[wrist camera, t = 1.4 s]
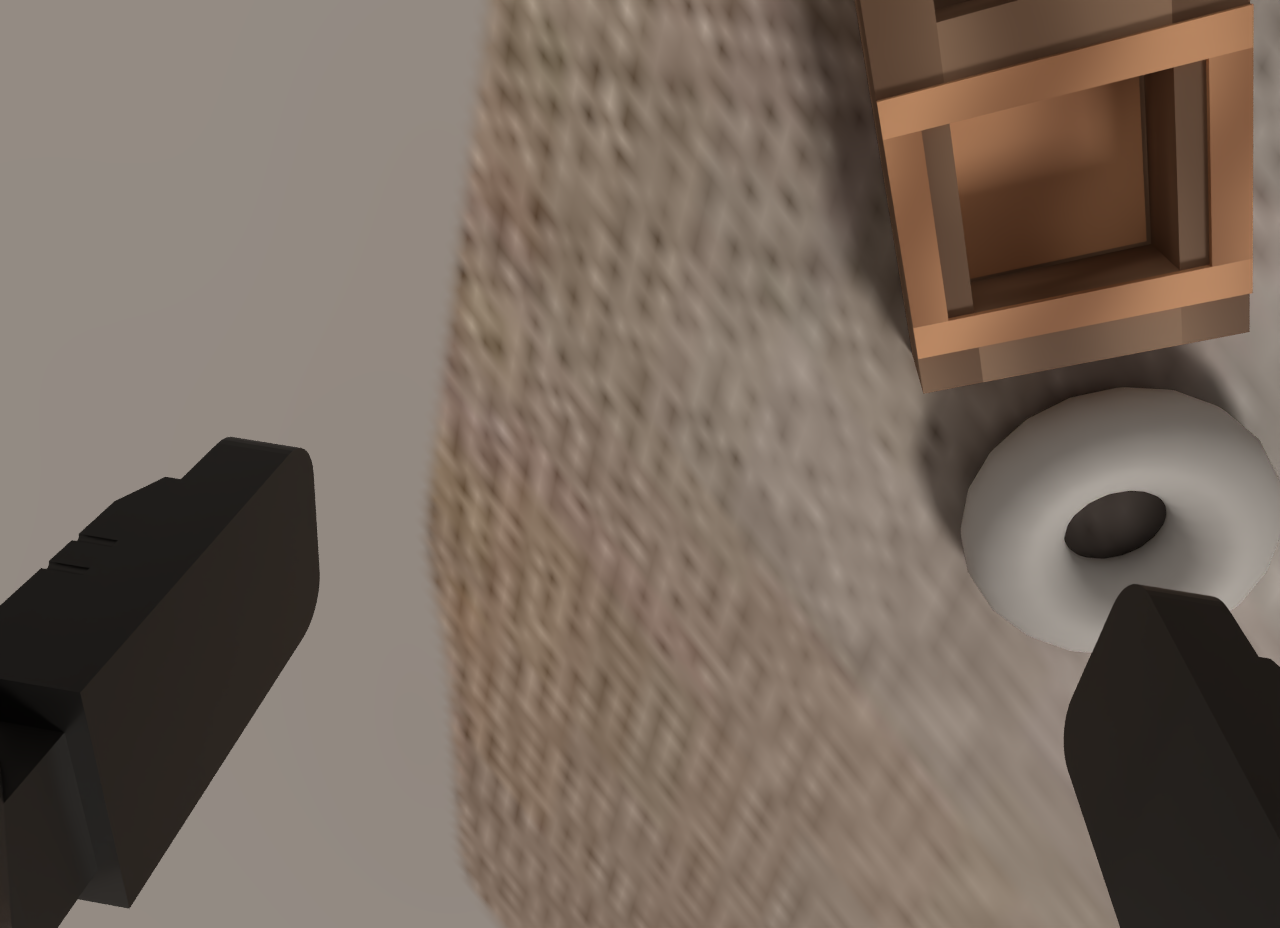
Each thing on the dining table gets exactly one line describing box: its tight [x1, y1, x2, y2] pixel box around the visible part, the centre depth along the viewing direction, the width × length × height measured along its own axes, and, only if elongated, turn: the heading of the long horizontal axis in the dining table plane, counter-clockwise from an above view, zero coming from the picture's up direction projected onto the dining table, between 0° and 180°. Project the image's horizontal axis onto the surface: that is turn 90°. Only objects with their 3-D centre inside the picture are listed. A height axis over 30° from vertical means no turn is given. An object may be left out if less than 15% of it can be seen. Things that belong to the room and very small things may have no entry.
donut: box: [961, 387, 1280, 653], centre depth 34 cm, size 10×4×10 cm
